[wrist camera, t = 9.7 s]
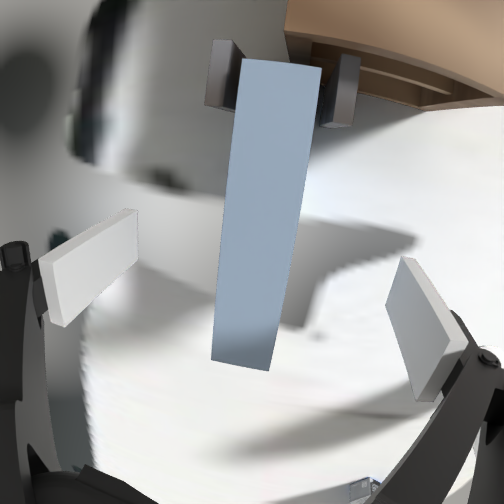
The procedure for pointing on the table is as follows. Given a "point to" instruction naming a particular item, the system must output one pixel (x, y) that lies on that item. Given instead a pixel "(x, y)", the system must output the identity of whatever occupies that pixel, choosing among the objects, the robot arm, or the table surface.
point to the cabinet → (384, 54)
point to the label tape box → (362, 490)
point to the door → (262, 206)
